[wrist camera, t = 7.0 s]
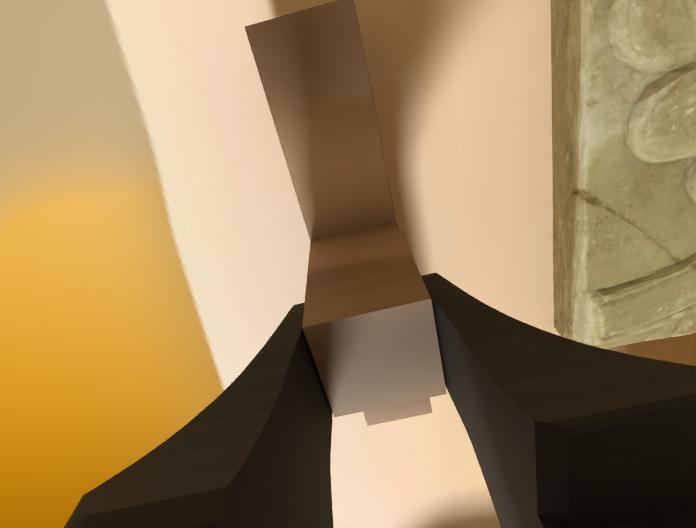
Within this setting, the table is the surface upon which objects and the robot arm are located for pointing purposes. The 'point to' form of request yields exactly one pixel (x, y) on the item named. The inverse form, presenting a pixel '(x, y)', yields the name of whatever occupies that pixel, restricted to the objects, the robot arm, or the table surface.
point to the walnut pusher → (348, 219)
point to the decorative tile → (624, 169)
